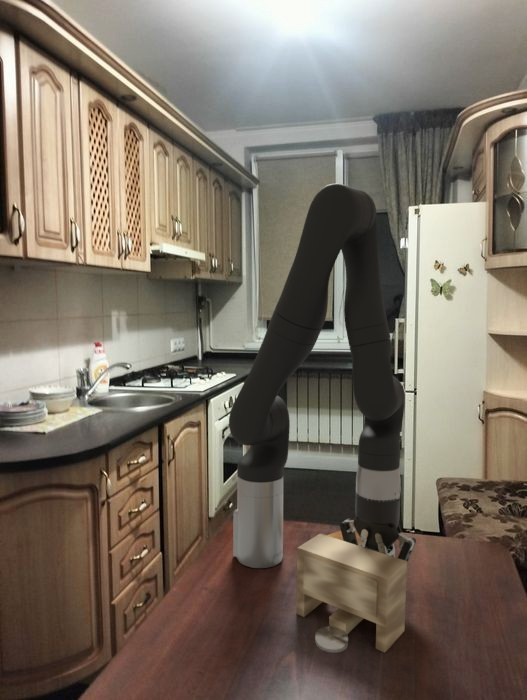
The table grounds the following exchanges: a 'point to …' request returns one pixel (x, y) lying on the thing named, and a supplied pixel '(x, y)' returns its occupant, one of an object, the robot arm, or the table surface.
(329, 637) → the disc
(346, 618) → the two-colour block
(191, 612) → the table surface
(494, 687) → the table surface
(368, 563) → the wooden arch block
